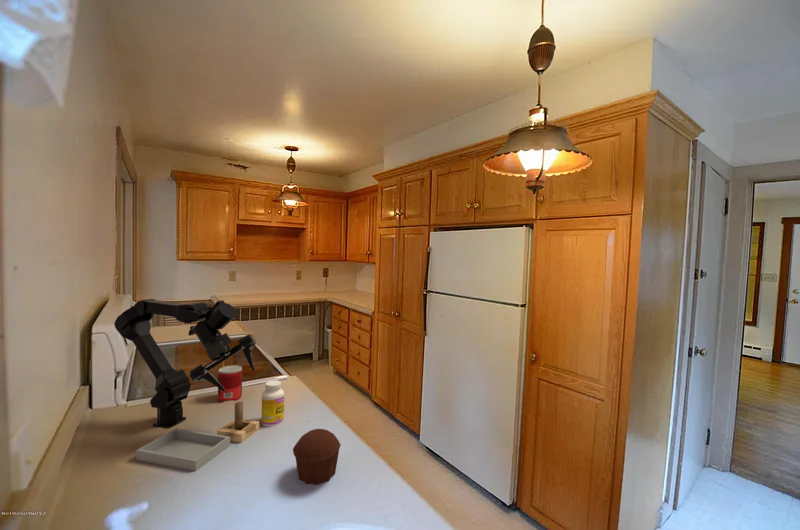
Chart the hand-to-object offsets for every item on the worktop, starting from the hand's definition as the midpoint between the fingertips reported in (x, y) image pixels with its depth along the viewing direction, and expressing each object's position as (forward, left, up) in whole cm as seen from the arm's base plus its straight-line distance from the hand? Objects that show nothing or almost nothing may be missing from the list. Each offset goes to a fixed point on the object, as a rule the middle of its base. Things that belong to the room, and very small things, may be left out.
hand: (240, 381), depth 105 cm
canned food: (-21, +22, -16) cm, 34 cm away
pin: (0, -1, -15) cm, 15 cm away
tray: (-7, -13, -16) cm, 21 cm away
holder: (0, -1, -16) cm, 16 cm away
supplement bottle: (+5, +9, -16) cm, 19 cm away
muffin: (+30, -11, -16) cm, 36 cm away
